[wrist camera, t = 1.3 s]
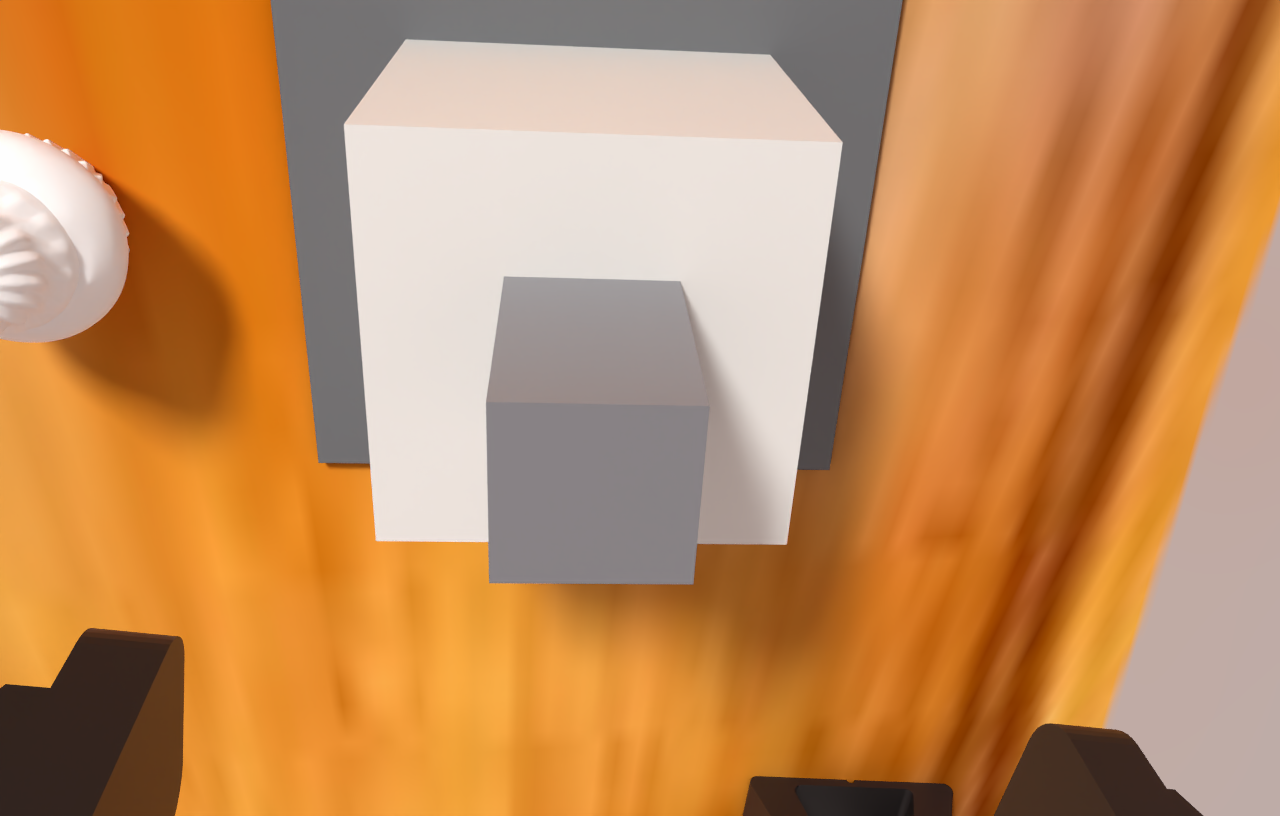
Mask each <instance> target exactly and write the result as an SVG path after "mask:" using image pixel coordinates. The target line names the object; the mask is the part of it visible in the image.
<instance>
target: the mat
mask: <svg viewBox="0 0 1280 816" xmlns="http://www.w3.org/2000/svg"><path fill="white" fill-rule="evenodd" d="M902 1H903V0H271V7H272V17H273V26H274V36H275V46H276V55H277V65H278V75H279V84H280V94H281V104H282V113H283V123H284V133H285V142H286V152H287V161H288V171H289V181H290V190H291V200H292V210H293V219H294V229H295V239H296V248H297V258H298V268H299V277H300V287H301V296H302V306H303V316H304V325H305V335H306V345H307V354H308V364H309V374H310V383H311V393H312V403H313V412H314V422H315V431H316V441H317V451H318V460H319V463H370V456H369V443H368V430H367V417H366V405H365V392H364V379H363V366H362V353H361V340H360V327H359V314H358V302H357V289H356V276H355V263H354V250H353V237H352V224H351V211H350V199H349V186H348V173H347V160H346V147H345V134H344V123H345V122H346V121H347V119H348V118H349V116H350V115H351V114H352V112H353V111H354V110H355V108H356V107H357V105H358V104H359V103H360V101H361V100H362V99H363V97H364V96H365V95H366V93H367V92H368V90H369V89H370V88H371V86H372V85H373V84H374V82H375V81H376V79H377V78H378V77H379V75H380V74H381V73H382V71H383V70H384V68H385V67H386V66H387V64H388V63H389V62H390V60H391V59H392V58H393V56H394V55H395V53H396V52H397V51H398V49H399V48H400V47H401V45H402V44H403V42H404V41H405V40H406V39H409V40H433V41H457V42H480V43H504V44H528V45H552V46H575V47H599V48H623V49H647V50H670V51H694V52H718V53H742V54H765V55H771V56H772V58H773V59H774V60H775V61H776V62H777V64H778V65H779V66H780V67H781V68H782V70H783V71H784V72H785V73H786V74H787V76H788V77H789V78H790V79H791V81H792V82H793V83H794V84H795V85H796V87H797V88H798V89H799V90H800V91H801V93H802V94H803V95H804V96H805V97H806V99H807V100H808V101H809V102H810V104H811V105H812V106H813V107H814V108H815V110H816V111H817V112H818V113H819V114H820V116H821V117H822V118H823V119H824V120H825V122H826V123H827V124H828V125H829V127H830V128H831V129H832V130H833V131H834V133H835V134H836V135H837V136H838V137H839V139H840V140H841V141H842V142H843V144H842V151H841V158H840V166H839V173H838V180H837V187H836V194H835V202H834V209H833V216H832V223H831V230H830V237H829V245H828V252H827V259H826V266H825V273H824V280H823V288H822V295H821V302H820V309H819V316H818V323H817V331H816V338H815V345H814V352H813V359H812V367H811V374H810V381H809V388H808V395H807V402H806V410H805V417H804V424H803V431H802V438H801V445H800V453H799V460H798V467H797V470H829V469H830V463H831V456H832V450H833V443H834V437H835V431H836V424H837V418H838V411H839V405H840V398H841V392H842V386H843V379H844V373H845V366H846V360H847V354H848V347H849V341H850V334H851V328H852V321H853V315H854V309H855V302H856V296H857V289H858V283H859V277H860V270H861V264H862V257H863V251H864V244H865V238H866V232H867V225H868V219H869V212H870V206H871V200H872V193H873V187H874V180H875V174H876V167H877V161H878V155H879V148H880V142H881V135H882V129H883V123H884V116H885V110H886V103H887V97H888V90H889V84H890V78H891V71H892V65H893V58H894V52H895V46H896V39H897V33H898V26H899V20H900V13H901V7H902Z"/></svg>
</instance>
